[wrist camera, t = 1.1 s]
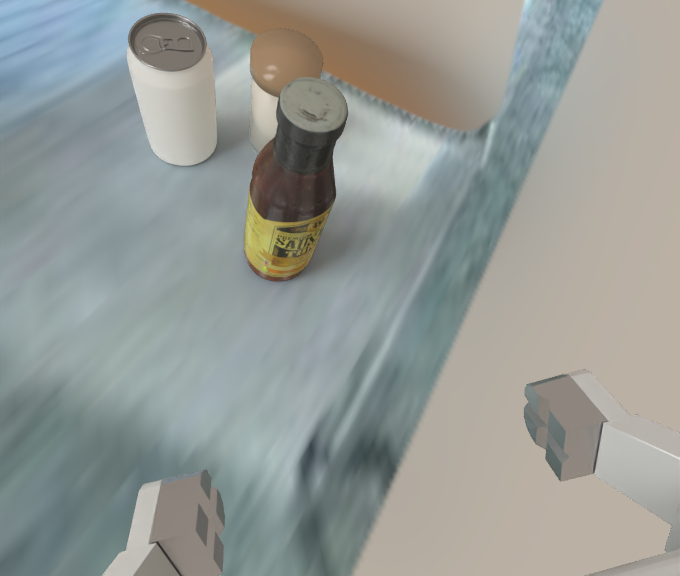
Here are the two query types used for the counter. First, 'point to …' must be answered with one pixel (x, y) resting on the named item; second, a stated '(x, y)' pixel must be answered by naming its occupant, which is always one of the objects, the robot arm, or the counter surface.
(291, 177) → the sauce bottle
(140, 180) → the counter surface
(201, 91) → the can
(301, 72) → the spice jar
